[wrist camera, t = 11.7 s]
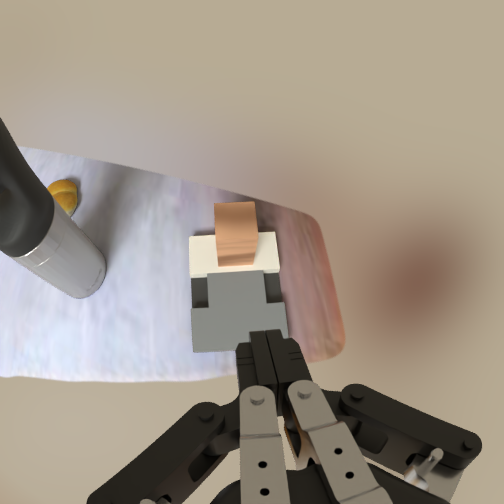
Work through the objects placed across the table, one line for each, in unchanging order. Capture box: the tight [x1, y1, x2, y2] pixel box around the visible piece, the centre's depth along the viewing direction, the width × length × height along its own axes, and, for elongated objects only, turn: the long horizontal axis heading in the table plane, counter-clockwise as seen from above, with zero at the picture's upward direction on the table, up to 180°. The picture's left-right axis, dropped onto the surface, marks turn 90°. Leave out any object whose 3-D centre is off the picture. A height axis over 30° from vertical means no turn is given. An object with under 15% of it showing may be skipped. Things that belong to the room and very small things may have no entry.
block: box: [214, 202, 259, 267], centre depth 40 cm, size 5×5×9 cm
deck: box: [191, 270, 289, 353], centre depth 41 cm, size 11×13×2 cm
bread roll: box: [47, 180, 77, 217], centre depth 46 cm, size 8×9×4 cm
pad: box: [189, 232, 280, 278], centre depth 45 cm, size 6×13×2 cm, turn 95°
